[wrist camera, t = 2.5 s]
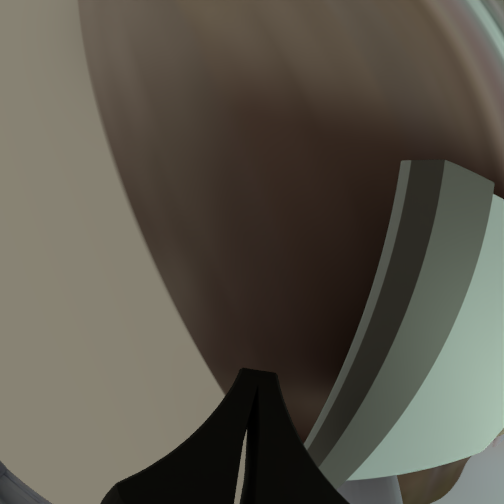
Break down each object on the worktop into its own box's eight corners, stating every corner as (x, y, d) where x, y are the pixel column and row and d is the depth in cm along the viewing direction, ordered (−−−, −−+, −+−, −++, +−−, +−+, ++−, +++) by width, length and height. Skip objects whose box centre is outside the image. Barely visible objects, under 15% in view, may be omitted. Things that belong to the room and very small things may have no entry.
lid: (479, 445, 12) (488, 466, 9) (287, 470, 13) (286, 505, 10) (583, 252, 7) (606, 265, 4) (401, 160, 8) (445, 159, 5)
